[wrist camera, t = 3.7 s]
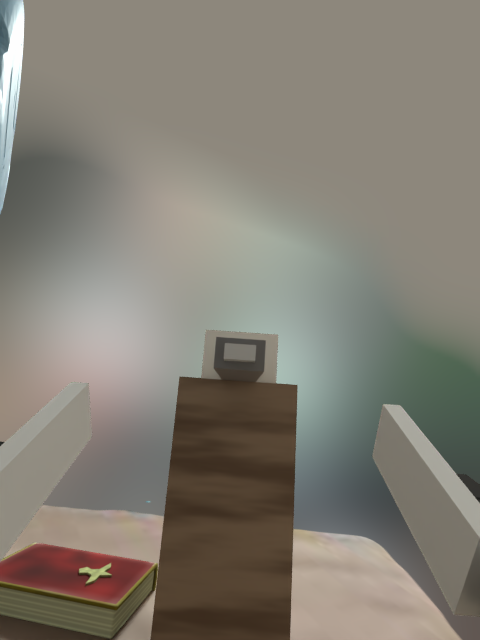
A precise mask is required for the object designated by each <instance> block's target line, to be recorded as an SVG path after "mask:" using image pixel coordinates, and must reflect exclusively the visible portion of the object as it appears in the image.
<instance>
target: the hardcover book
mask: <svg viewBox="0 0 480 640" xmlns="http://www.w3.org/2000/svg"><path fill="white" fill-rule="evenodd" d="M157 572H158V563H153V562H147V561H141V560H135V559H129V558H123V557H117V556H112V555H106V554H100V553H94V552H88V551H82V550H76V549H71V548H65V547H59V546H53V545H47V544H41V543H33V544H31V545H29V546H27V547H25V548H23V549H21V550H19V551H17V552H15V553H13V554H11V555H9V556H7V557H5V558H3V559H2V560H1V562H0V615H4V616H9V617H13V618H18V619H22V620H27V621H31V622H36V623H40V624H45V625H49V626H54V627H58V628H63V629H67V630H72V631H77V632H81V633H86V634H90V635H95V636H99V637H104V638H108V639H112V638H113V636H114V635H115V634H116V633H117V632H118V630H119V629H120V628H121V627H122V626H123V624H124V623H125V622H126V621H127V620H128V618H129V617H130V616H131V615H132V614H133V612H134V611H135V610H136V609H137V607H138V606H139V605H140V604H141V603H142V601H143V600H144V599H145V598H146V597H147V595H148V594H149V593H150V592H151V591H154V590H155V588H156V581H157Z"/></svg>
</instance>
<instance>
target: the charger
mask: <svg viewBox="0 0 480 640" xmlns="http://www.w3.org/2000/svg"><path fill="white" fill-rule="evenodd" d="M277 350H278V335H274V334H273V335H272V334H260V333H245V332H231V331H217V330H216V331H215V330H206V334H205V345H204V355H203V366H202V376H201V378H205V379H219V380H233V381H247V382H262V383H276V373H277Z"/></svg>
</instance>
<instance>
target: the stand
mask: <svg viewBox="0 0 480 640" xmlns="http://www.w3.org/2000/svg"><path fill="white" fill-rule="evenodd" d="M296 416H297V385H289V384H276V383H262V382H247V381H233V380H219V379H205V378H191V377H180V378H179V387H178V396H177V405H176V414H175V423H174V432H173V441H172V451H171V460H170V469H169V478H168V487H167V496H166V505H165V514H164V523H163V532H162V541H161V550H160V559H159V568H158V577H157V586H156V595H155V604H154V614H153V623H152V632H151V640H290V619H291V586H292V552H293V518H294V517H293V516H294V483H295V450H296V448H295V447H296Z"/></svg>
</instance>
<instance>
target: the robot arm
mask: <svg viewBox="0 0 480 640" xmlns="http://www.w3.org/2000/svg"><path fill="white" fill-rule="evenodd" d="M23 39H24V4H23V0H0V213H1V210H2V207H3V203H4V197H5V192H6V187H7V182H8V176H9V169H10V160H11V152H12V143H13V138H14V133H15V126H16V116H17V108H18V99H19V90H20V79H21V68H22V56H23ZM91 437H92V427H91V413H90V398H89V384H88V383H77V382H71V383H70V384H69V385H68V386H67V387H65V388H64V389H63V390H62V391H61V392H60V393H59V394H58V395H57V396H56V397H54V398H53V399H52V400H51V401H50V402H49V403H48V404H47V405H46V406H44V407H43V408H42V409H41V410H40V411H39V412H38V413H37V414H36V415H34V416H33V417H32V418H31V419H30V420H29V421H28V422H27V423H26V424H25V425H24V426H22V427H21V428H20V429H19V430H18V431H17V432H16V433H15V434H13V435H12V436H11V437H10V438H9V439H8V440H7V441H6V442H0V562H1V560H2V559H3V557H4V556H5V555H6V553H7V552H8V551H9V549H10V548H11V547H12V545H13V544H14V542H15V541H16V540H17V538H18V537H19V536H20V534H21V533H22V532H23V530H24V529H25V527H26V526H27V525H28V523H29V522H30V521H31V519H32V518H33V517H34V515H35V514H36V512H37V511H38V510H39V508H40V507H41V506H42V504H43V503H44V502H45V500H46V499H47V497H48V496H49V495H50V493H51V492H52V491H53V489H54V488H55V486H56V485H57V484H58V482H59V481H60V480H61V478H62V477H63V476H64V474H65V473H66V471H67V470H68V469H69V467H70V466H71V465H72V463H73V462H74V461H75V459H76V458H77V456H78V455H79V454H80V452H81V451H82V450H83V448H84V447H85V446H86V444H87V443H88V441H89V440H90V439H91ZM372 457H373V459H374V461H375V463H376V465H377V467H378V469H379V471H380V473H381V474H382V477H383V478H384V480H385V482H386V484H387V486H388V488H389V490H390V491H391V494H392V496H393V498H394V500H395V502H396V504H397V505H398V508H399V509H400V511H401V513H402V515H403V517H404V519H405V521H406V523H407V525H408V527H409V529H410V531H411V533H412V535H413V537H414V538H415V540H416V542H417V544H418V546H419V548H420V550H421V552H422V554H423V556H424V558H425V559H426V562H427V564H428V566H429V567H430V570H431V571H432V573H433V575H434V577H435V579H436V581H437V583H438V585H439V587H440V589H441V591H442V593H443V594H444V597H445V599H446V600H447V602H448V604H449V606H450V608H451V610H452V612H453V614H454V615H463V616H476V617H480V484H478V483H477V482H475V481H474V480H473V479H471V478H470V477H469V476H467V475H464V474H456V473H455V472H454V471H453V470H452V468H451V467H450V466H449V465H448V464H447V462H446V461H445V460H444V459H443V457H442V456H441V455H440V454H439V452H438V451H437V450H436V449H435V447H434V446H433V445H432V444H431V443H430V441H429V440H428V439H427V438H426V436H425V435H424V434H423V433H422V431H421V430H420V429H419V428H418V426H417V425H416V424H415V423H414V422H413V420H412V419H411V418H410V417H409V415H408V414H407V413H406V412H405V411H404V409H403V408H402V407H401V406H400V405H388V404H383V406H382V411H381V416H380V422H379V426H378V431H377V437H376V441H375V446H374V451H373V456H372Z"/></svg>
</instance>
